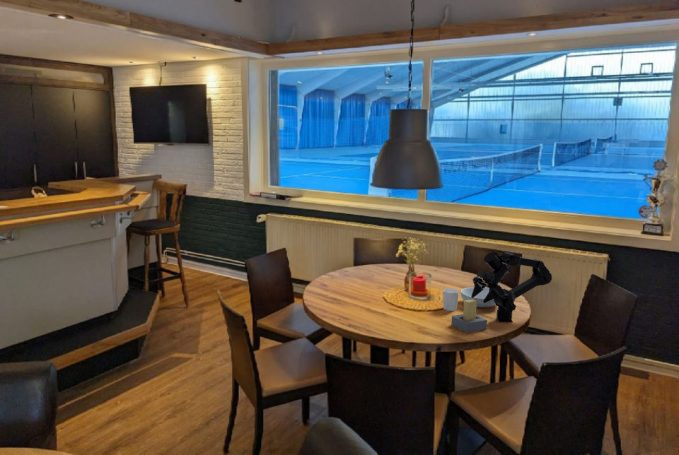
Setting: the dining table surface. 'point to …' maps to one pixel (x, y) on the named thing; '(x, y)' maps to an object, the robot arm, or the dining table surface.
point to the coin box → (469, 323)
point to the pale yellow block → (469, 310)
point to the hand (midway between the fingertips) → (477, 299)
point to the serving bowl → (477, 296)
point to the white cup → (450, 299)
